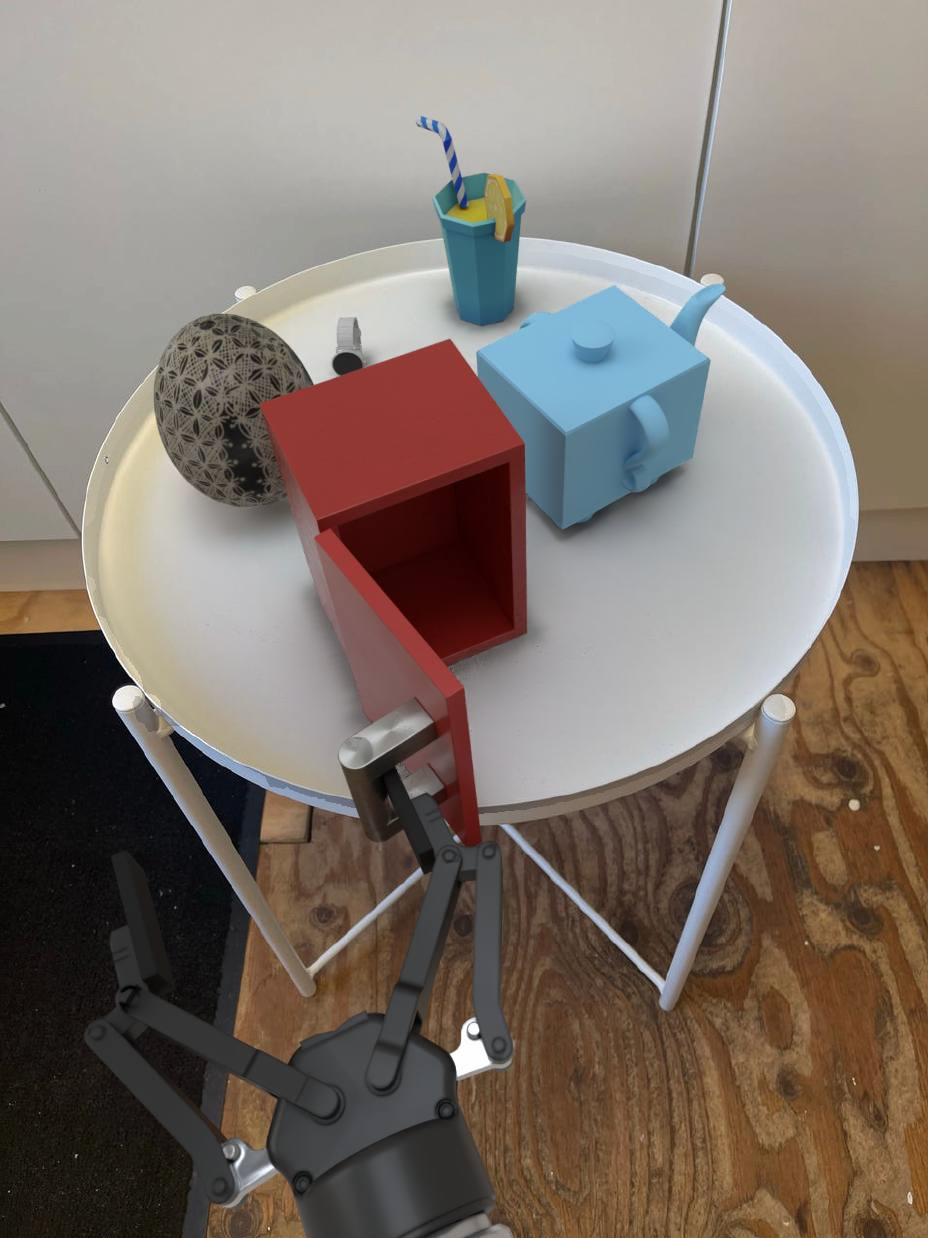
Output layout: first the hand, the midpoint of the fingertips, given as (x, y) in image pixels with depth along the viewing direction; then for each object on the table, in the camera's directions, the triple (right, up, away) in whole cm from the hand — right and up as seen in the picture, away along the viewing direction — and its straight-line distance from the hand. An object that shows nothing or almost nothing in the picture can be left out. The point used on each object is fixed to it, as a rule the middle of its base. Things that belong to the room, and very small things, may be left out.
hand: (256, 807), depth 50 cm
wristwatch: (+1, +31, +34) cm, 46 cm away
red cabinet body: (+8, +10, +18) cm, 22 cm away
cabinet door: (+6, -1, +10) cm, 12 cm away
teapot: (+23, +23, +27) cm, 42 cm away
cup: (+12, +38, +39) cm, 56 cm away
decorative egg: (-5, +20, +27) cm, 34 cm away
